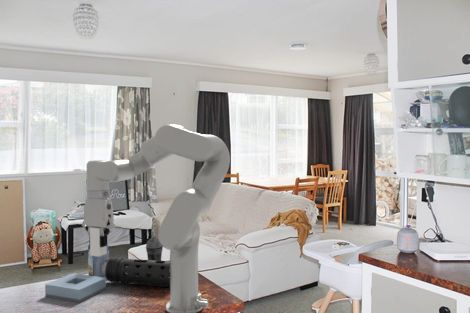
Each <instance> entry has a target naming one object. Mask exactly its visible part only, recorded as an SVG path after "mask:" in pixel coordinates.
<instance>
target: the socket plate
mask: <svg viewBox="0 0 470 313" xmlns="http://www.w3.org/2000/svg"><path fill="white" fill-rule="evenodd" d="M44 288H45V289H44V291H45V292H44V294H45V296H44V297H47V298H53V299H57V300H62V301H63V300H64V301H70V302H74V303H79V304H81V303H82V302H84V301H85V300H87V299H90V298H92V297H93V296H96V295H99V294H100V293H102V292H103V291H106V290H107V280H106V278H104V277H97V276H90V275H89V274H81V273H77V272H73V273H70V274H67V275H65V276H63V277H60V278H58V279H57V278H56V279H55V280H52V281H51V282H47V283H45V285H44Z"/></svg>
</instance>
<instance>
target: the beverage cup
mask: <svg viewBox="0 0 470 313" xmlns="http://www.w3.org/2000/svg"><path fill="white" fill-rule="evenodd" d="M156 235H157V227H156V226H154V235H153V236H154V237H151V238H149V239H148V240H147V241H146V245H145V250H146V256H147V260H156V261H162V257H163V256H162V254H163V248H164V247H163V246H162V245H161V243H160V241H159V237H156Z"/></svg>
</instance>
